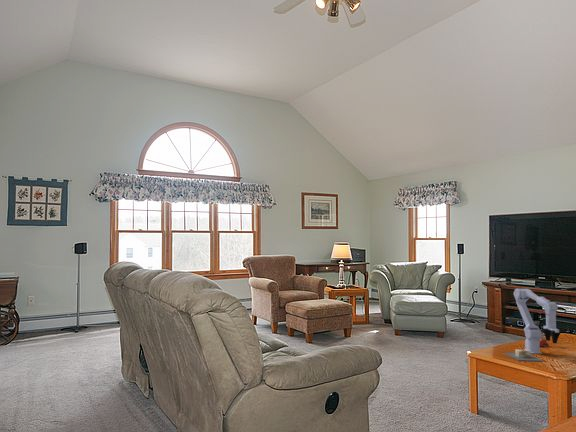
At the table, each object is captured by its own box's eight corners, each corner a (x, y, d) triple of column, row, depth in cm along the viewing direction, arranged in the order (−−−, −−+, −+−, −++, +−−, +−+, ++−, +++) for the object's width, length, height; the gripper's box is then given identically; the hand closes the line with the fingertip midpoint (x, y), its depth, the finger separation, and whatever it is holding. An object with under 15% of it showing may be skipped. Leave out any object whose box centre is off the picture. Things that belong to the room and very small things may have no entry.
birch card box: (527, 355, 296) (527, 349, 297) (531, 357, 292) (530, 351, 292) (515, 355, 296) (515, 349, 297) (518, 357, 292) (518, 351, 292)
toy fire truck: (533, 345, 329) (533, 332, 330) (549, 345, 332) (549, 332, 332) (536, 347, 326) (536, 333, 327) (553, 346, 329) (553, 333, 329)
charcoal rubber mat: (504, 353, 303) (504, 352, 303) (527, 354, 303) (527, 353, 303) (517, 360, 285) (517, 359, 285) (543, 361, 285) (543, 360, 285)
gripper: (538, 318, 303) (539, 339, 302) (551, 322, 289) (551, 344, 288) (549, 319, 303) (549, 339, 302) (562, 322, 289) (562, 344, 288)
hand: (551, 341), depth 295 cm, fingers open, 7 cm apart
